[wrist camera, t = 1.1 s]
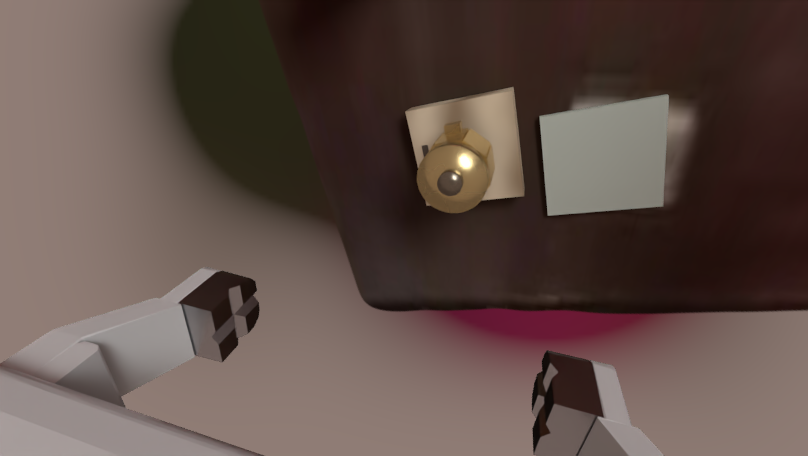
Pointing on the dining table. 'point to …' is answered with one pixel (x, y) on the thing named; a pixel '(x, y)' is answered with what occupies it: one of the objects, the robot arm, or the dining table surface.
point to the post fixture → (488, 119)
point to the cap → (456, 169)
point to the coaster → (605, 156)
